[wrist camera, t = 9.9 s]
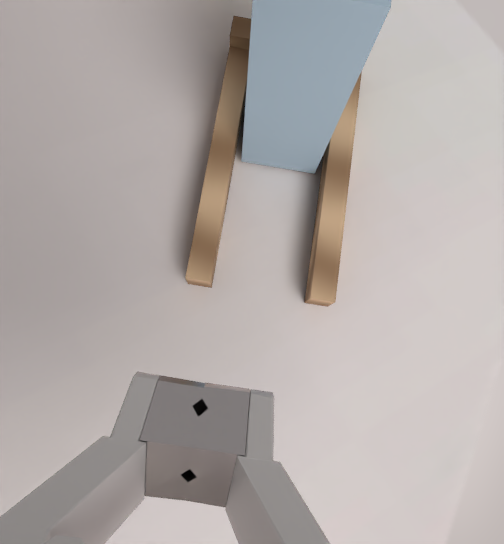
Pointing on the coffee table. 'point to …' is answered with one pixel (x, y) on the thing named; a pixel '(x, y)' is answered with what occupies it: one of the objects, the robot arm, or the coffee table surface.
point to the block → (303, 75)
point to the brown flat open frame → (220, 173)
